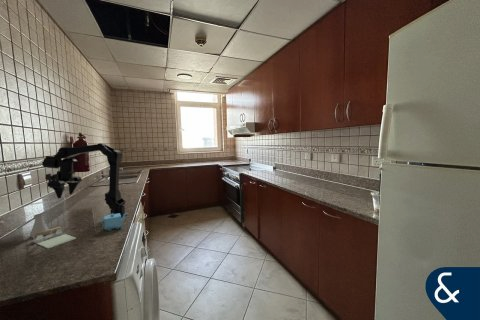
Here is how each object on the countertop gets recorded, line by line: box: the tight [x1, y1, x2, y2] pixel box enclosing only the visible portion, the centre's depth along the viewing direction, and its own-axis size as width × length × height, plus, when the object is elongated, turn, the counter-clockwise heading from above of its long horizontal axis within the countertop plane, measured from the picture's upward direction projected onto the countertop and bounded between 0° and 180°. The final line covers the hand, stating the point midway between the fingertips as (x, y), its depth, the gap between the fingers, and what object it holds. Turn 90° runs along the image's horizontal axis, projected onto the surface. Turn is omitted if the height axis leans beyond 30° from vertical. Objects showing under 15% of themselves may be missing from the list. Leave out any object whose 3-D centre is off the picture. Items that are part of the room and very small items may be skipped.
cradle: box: [31, 228, 65, 244], centre depth 94 cm, size 10×4×3 cm, turn 153°
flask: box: [29, 213, 50, 239], centre depth 98 cm, size 7×7×10 cm
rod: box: [34, 225, 62, 237], centre depth 94 cm, size 9×2×2 cm, turn 153°
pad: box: [36, 233, 77, 250], centre depth 91 cm, size 10×10×1 cm
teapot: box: [100, 212, 128, 232], centre depth 104 cm, size 12×6×8 cm, turn 125°
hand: (65, 196), depth 116 cm, fingers open, 9 cm apart
